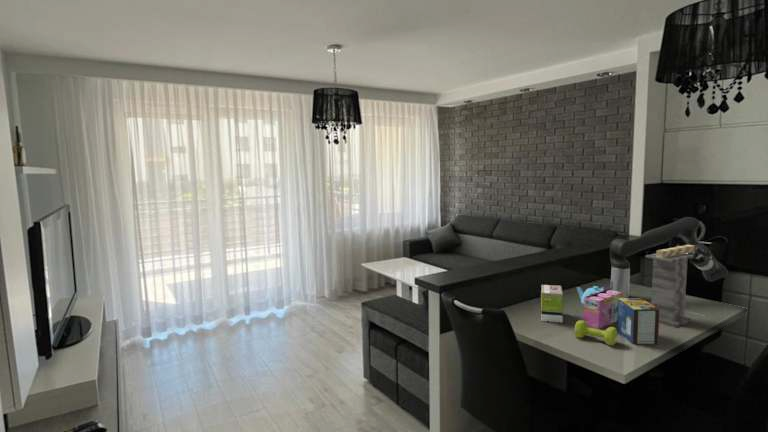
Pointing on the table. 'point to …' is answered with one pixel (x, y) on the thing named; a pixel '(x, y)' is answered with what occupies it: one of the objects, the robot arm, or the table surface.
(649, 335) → the protein box
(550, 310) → the tea box
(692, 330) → the table surface
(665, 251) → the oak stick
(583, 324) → the dumbbell
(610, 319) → the gum box
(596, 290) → the teapot
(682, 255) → the pedestal shelf
